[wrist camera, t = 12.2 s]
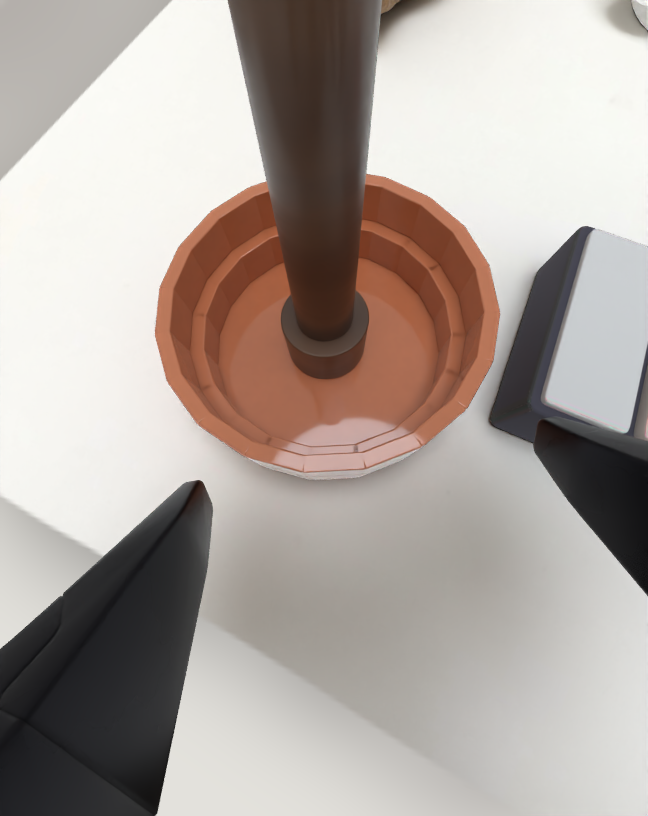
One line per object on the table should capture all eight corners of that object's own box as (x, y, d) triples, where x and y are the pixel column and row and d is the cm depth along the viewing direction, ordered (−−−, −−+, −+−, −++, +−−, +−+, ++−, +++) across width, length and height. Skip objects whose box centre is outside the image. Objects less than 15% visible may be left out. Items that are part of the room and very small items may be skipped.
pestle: (354, 387, 18) (420, -26, 4) (279, 369, 19) (97, -60, 4) (371, 319, 20) (471, -192, 5) (300, 304, 20) (210, -205, 6)
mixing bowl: (433, 514, 17) (471, 519, 12) (159, 439, 19) (98, 417, 14) (475, 268, 21) (517, 198, 16) (247, 224, 23) (223, 148, 18)
